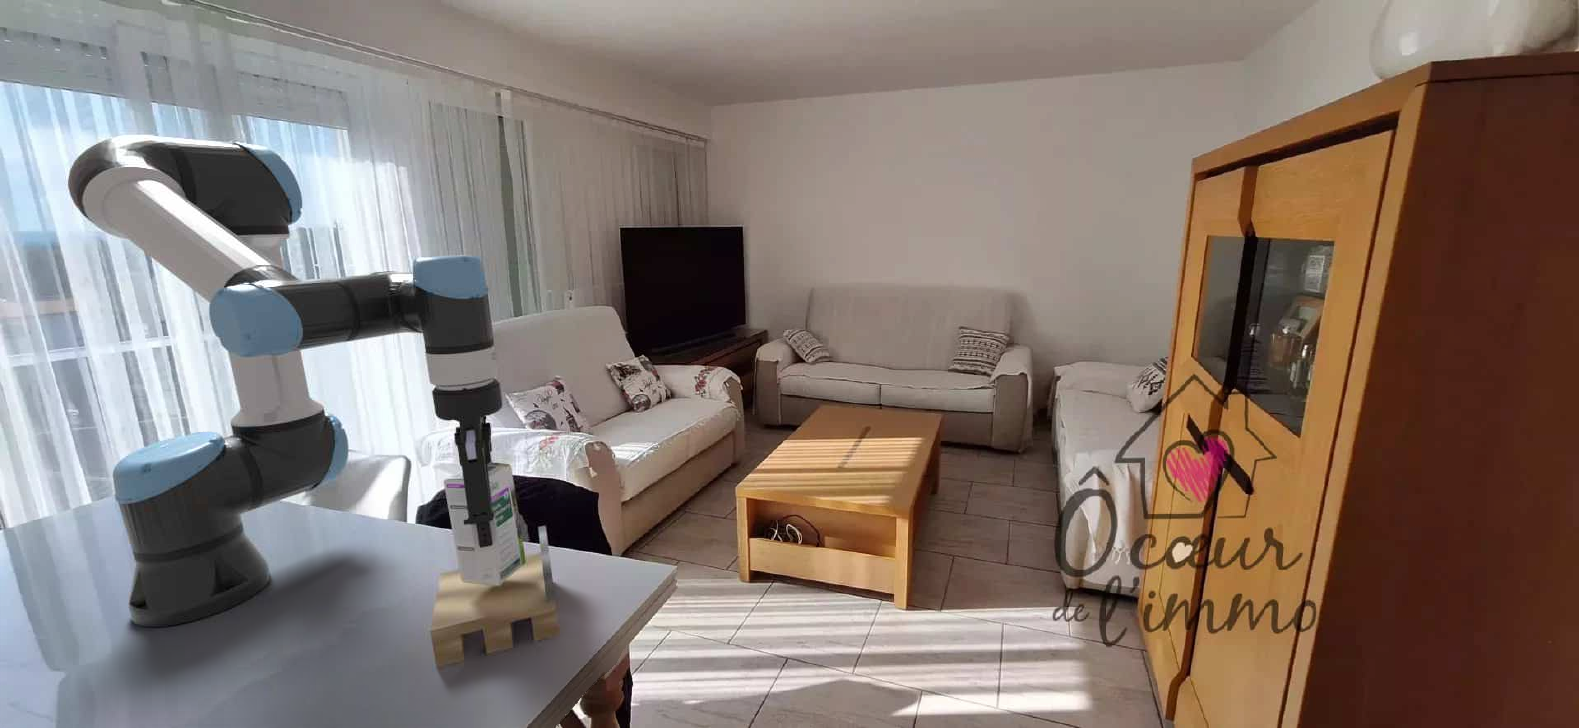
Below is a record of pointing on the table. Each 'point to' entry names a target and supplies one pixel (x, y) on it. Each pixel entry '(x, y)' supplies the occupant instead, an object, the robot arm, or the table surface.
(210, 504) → the robot arm
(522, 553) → the syrup box
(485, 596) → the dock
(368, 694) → the table surface
